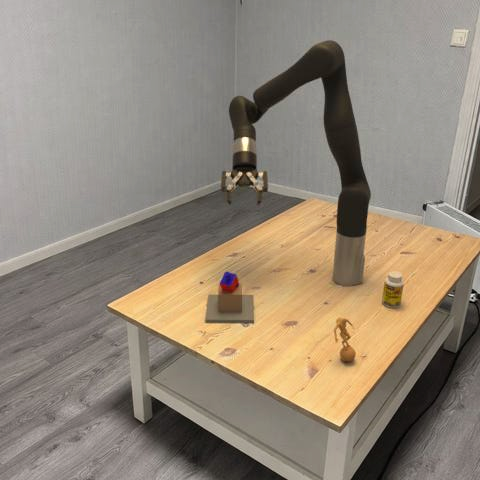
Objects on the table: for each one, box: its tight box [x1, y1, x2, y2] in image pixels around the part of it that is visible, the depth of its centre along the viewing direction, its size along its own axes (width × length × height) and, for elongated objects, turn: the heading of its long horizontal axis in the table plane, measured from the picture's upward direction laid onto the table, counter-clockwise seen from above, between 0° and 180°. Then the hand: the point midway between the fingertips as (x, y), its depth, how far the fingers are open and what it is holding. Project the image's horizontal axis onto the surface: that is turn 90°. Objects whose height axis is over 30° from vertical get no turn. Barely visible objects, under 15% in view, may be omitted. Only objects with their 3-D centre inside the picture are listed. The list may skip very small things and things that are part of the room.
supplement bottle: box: [381, 270, 405, 309], centre depth 160 cm, size 6×6×10 cm
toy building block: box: [219, 270, 240, 292], centre depth 154 cm, size 4×4×8 cm
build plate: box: [204, 283, 255, 324], centre depth 157 cm, size 14×14×7 cm
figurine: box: [333, 317, 357, 363], centre depth 135 cm, size 8×6×12 cm
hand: (244, 203), depth 159 cm, fingers open, 8 cm apart
